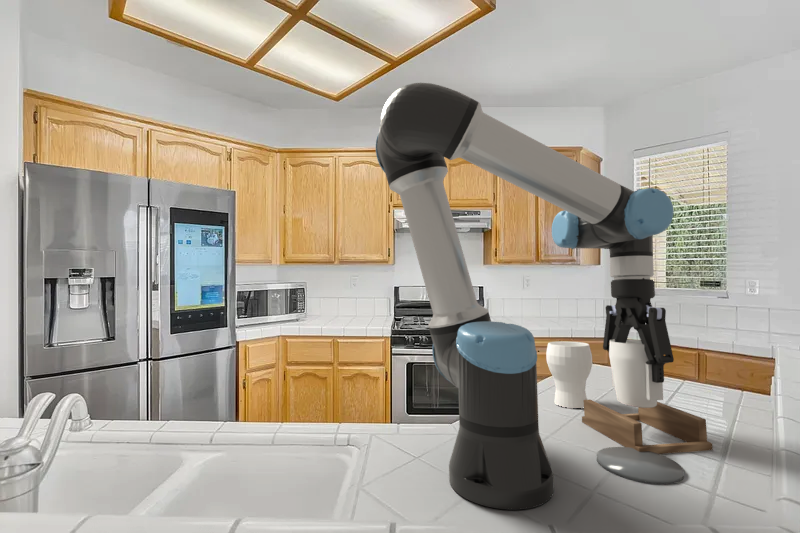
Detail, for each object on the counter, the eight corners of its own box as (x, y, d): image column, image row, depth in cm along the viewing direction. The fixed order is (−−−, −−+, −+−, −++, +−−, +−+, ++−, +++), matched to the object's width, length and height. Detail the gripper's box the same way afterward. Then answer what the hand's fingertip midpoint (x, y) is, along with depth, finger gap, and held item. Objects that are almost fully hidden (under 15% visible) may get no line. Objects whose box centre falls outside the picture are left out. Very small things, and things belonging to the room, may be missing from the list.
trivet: (629, 487, 55) (629, 482, 56) (581, 452, 67) (581, 449, 67) (704, 481, 57) (704, 476, 57) (644, 448, 69) (644, 444, 69)
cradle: (639, 455, 66) (637, 425, 66) (582, 422, 83) (580, 398, 83) (712, 450, 67) (710, 421, 68) (641, 418, 84) (640, 395, 85)
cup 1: (596, 402, 97) (593, 342, 98) (592, 413, 88) (588, 347, 89) (552, 396, 103) (550, 340, 104) (544, 406, 94) (541, 345, 95)
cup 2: (665, 413, 69) (662, 346, 70) (608, 405, 74) (607, 342, 75) (663, 401, 77) (660, 340, 78) (611, 394, 82) (610, 337, 82)
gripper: (695, 276, 67) (702, 408, 65) (613, 280, 88) (616, 379, 87) (656, 276, 66) (661, 409, 64) (582, 280, 87) (585, 380, 86)
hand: (636, 392), depth 76 cm, fingers closed on cup 2, 9 cm apart
